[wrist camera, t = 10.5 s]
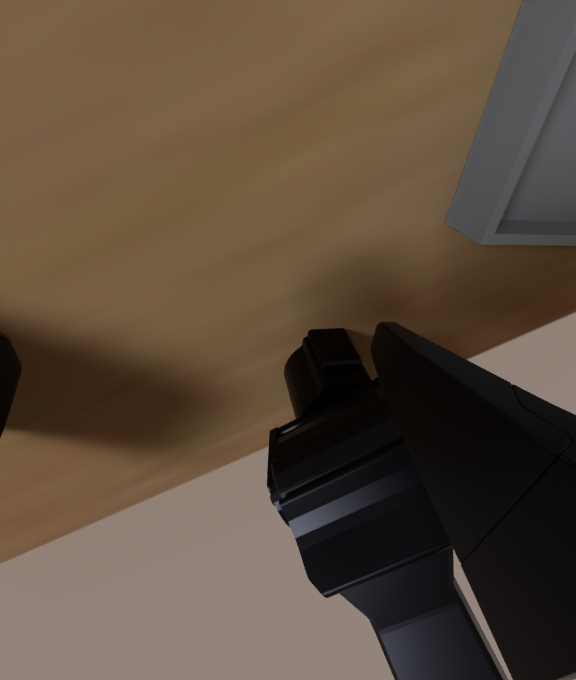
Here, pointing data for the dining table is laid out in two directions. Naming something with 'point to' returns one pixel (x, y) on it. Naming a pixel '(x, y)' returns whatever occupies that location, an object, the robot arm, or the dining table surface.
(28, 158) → the dining table surface
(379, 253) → the dining table surface
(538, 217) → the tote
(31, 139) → the dining table surface
